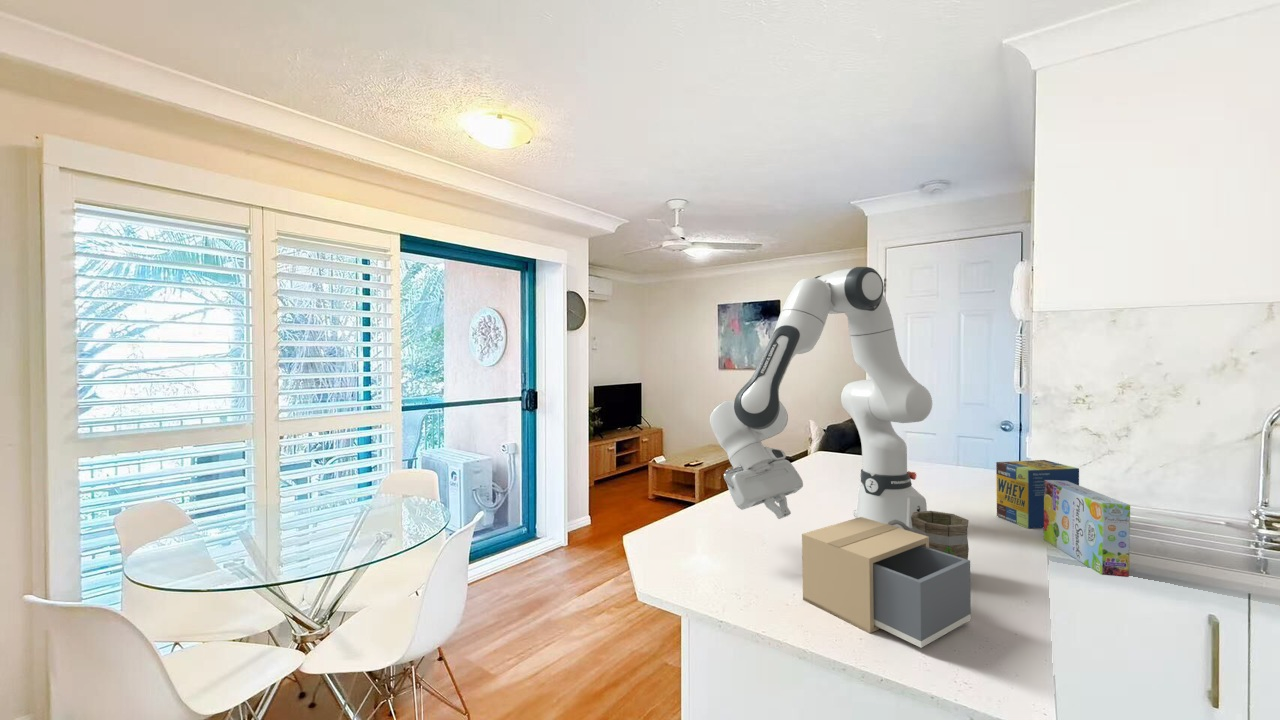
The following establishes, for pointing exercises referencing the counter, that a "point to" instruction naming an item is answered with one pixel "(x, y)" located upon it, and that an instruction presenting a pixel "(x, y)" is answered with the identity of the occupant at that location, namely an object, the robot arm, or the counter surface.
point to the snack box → (1088, 526)
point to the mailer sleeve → (850, 566)
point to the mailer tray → (921, 594)
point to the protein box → (1027, 489)
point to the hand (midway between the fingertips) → (785, 516)
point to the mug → (941, 531)
